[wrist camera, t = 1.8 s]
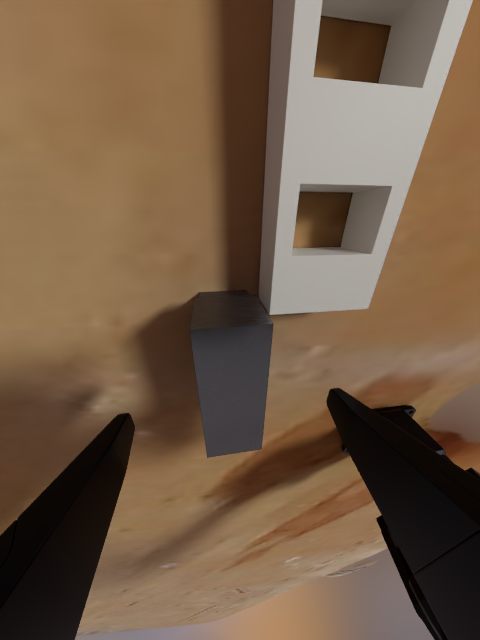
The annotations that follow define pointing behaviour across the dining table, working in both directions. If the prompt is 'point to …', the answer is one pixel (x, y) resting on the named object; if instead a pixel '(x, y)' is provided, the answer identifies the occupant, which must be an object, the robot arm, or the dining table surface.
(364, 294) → the rail
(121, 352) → the dining table surface
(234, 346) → the dark grey blocky piece
